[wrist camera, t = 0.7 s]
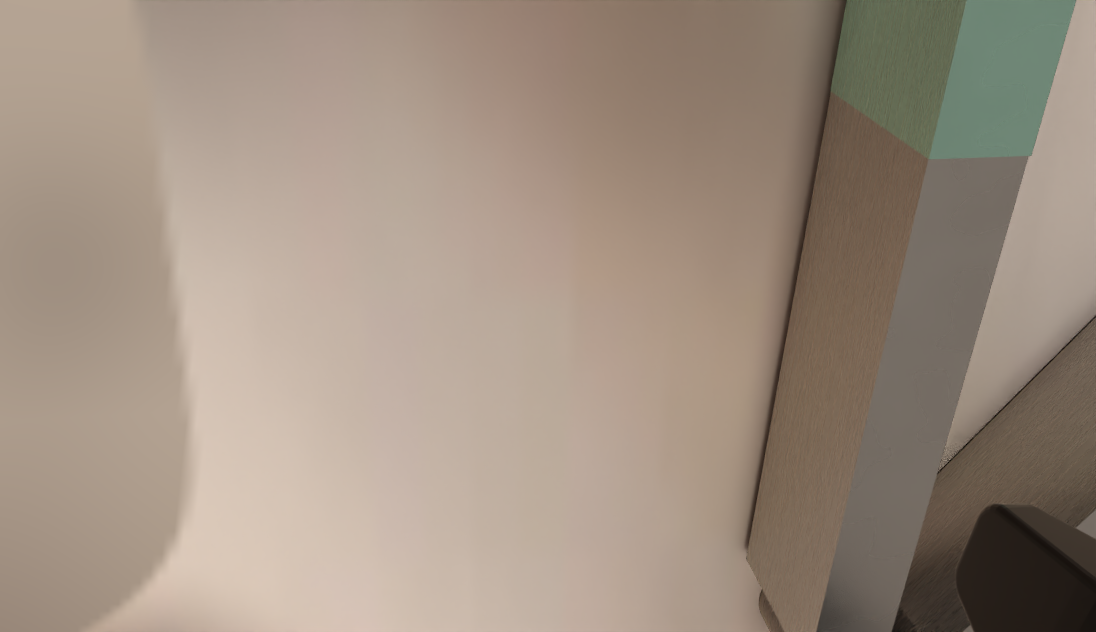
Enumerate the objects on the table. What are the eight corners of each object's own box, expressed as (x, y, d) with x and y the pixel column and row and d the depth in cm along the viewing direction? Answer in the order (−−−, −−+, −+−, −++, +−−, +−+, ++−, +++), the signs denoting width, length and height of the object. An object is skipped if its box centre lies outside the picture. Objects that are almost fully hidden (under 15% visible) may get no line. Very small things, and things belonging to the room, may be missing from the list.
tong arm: (975, -168, 19) (1118, -147, 16) (814, 550, 28) (884, 664, 25) (877, -172, 19) (1002, -150, 16) (745, 558, 28) (806, 675, 24)
